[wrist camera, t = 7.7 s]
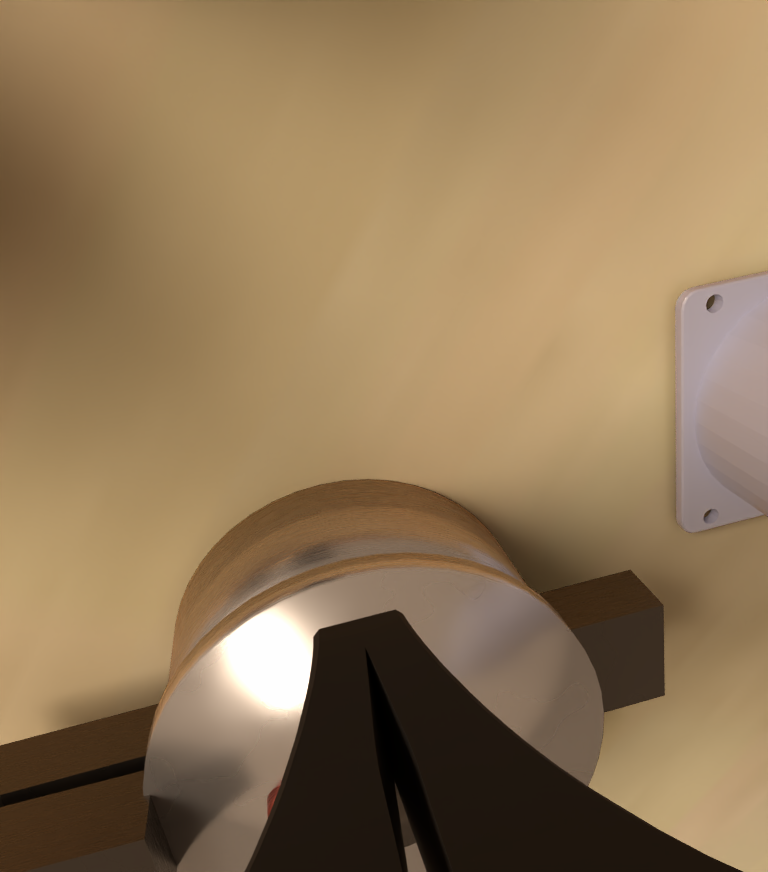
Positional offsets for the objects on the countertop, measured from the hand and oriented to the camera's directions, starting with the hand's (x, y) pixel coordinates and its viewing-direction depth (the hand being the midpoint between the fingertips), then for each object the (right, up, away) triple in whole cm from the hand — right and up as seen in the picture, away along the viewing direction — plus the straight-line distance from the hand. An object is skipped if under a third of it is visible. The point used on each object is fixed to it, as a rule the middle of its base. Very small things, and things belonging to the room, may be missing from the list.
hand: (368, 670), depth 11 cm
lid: (-2, -5, +7) cm, 9 cm away
